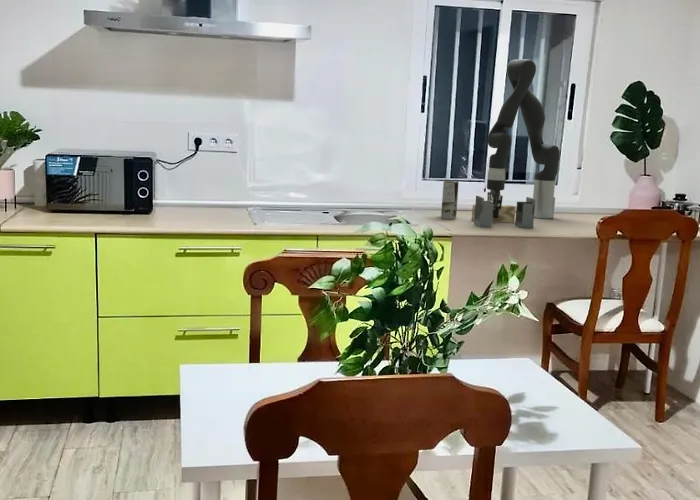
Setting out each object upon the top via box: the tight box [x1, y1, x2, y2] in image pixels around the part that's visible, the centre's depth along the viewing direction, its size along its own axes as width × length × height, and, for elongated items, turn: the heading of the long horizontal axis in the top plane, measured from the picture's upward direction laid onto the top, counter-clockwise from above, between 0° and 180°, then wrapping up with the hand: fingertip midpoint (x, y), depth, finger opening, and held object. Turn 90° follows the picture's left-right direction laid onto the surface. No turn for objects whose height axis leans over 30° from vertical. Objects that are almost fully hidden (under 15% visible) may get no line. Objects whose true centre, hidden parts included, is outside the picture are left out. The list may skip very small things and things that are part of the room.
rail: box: [471, 204, 517, 223], centre depth 328 cm, size 18×4×7 cm, turn 97°
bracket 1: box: [473, 195, 493, 228], centre depth 313 cm, size 5×8×12 cm, turn 7°
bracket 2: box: [514, 196, 536, 229], centre depth 315 cm, size 5×8×12 cm, turn 7°
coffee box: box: [440, 180, 460, 220], centre depth 332 cm, size 9×6×16 cm
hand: (493, 217), depth 329 cm, fingers open, 5 cm apart
